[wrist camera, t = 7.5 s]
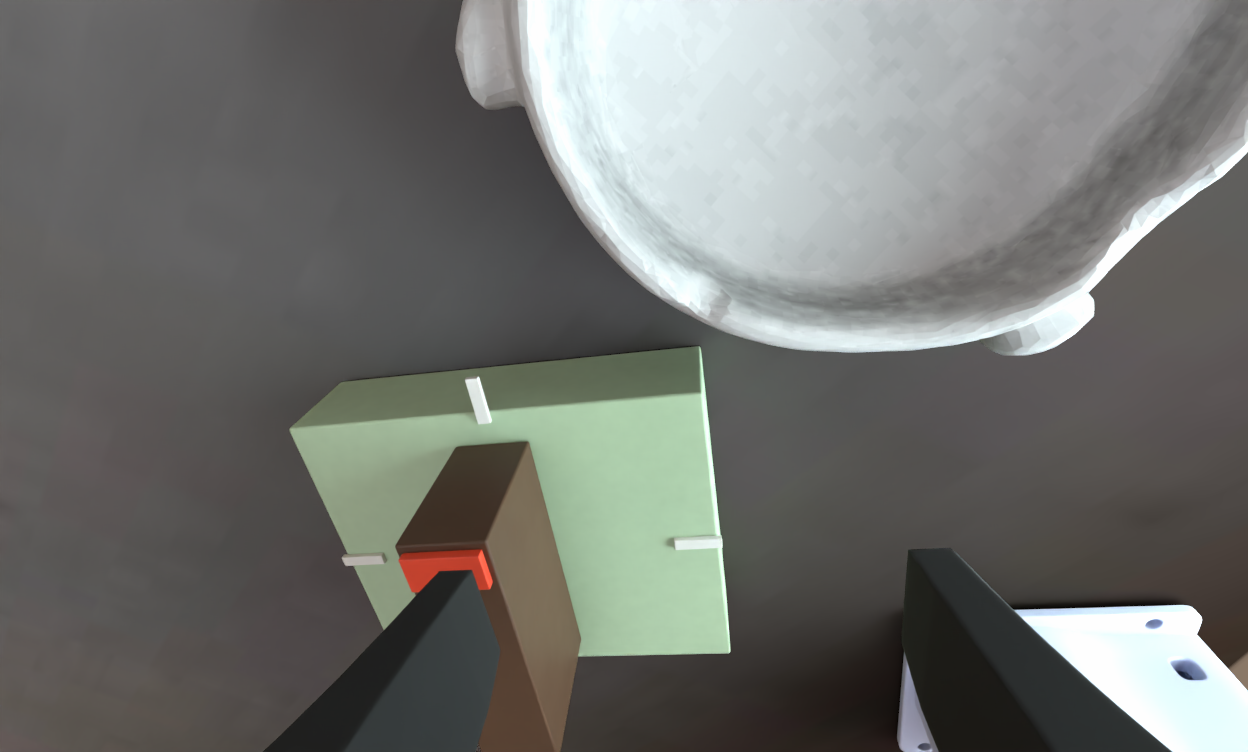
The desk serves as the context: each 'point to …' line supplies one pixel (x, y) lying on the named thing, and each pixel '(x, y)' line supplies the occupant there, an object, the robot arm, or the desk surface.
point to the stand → (547, 483)
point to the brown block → (504, 585)
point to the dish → (871, 151)
